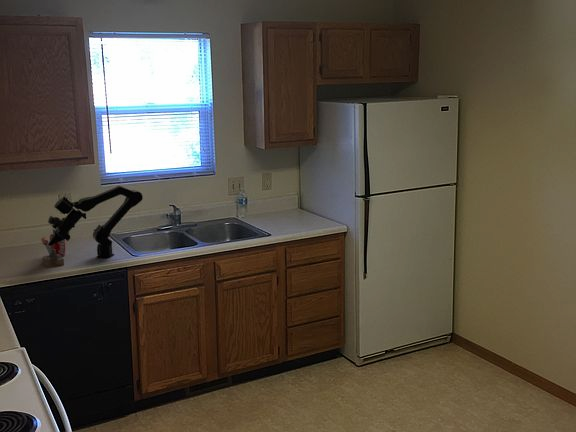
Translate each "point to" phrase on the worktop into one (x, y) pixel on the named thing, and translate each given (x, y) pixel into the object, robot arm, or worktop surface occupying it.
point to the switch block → (53, 260)
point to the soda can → (58, 247)
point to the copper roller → (46, 245)
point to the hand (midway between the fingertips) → (49, 245)
